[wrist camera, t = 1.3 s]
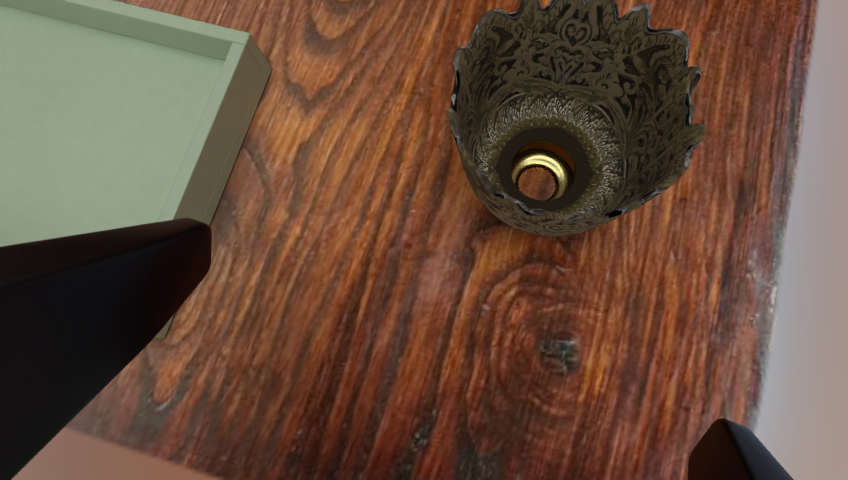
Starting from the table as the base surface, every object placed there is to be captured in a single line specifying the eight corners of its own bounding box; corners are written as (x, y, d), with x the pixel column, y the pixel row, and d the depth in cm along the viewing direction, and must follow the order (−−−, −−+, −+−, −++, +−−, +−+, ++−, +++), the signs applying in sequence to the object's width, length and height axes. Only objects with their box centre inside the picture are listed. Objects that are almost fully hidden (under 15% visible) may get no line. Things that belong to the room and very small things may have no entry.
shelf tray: (164, 339, 23) (124, 335, 20) (-166, 231, 25) (-243, 214, 22) (272, 68, 25) (250, 32, 23) (-34, -8, 27) (-88, -49, 25)
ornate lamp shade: (619, 279, 22) (706, 232, 14) (441, 257, 23) (432, 201, 15) (628, 114, 24) (712, -10, 16) (462, 98, 24) (464, -28, 17)
